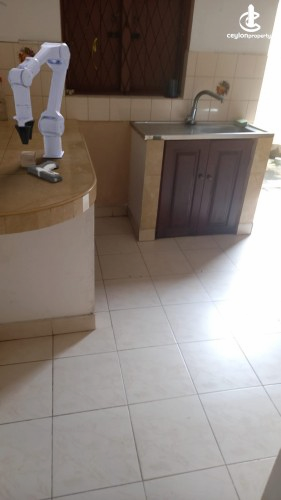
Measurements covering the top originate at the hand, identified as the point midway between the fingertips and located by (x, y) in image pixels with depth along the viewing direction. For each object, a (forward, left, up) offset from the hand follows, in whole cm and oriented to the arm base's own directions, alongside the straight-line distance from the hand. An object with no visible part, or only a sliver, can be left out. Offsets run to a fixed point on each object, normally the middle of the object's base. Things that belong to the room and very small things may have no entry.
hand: (27, 141), depth 137 cm
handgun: (+9, +10, -10) cm, 17 cm away
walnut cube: (0, 0, -10) cm, 10 cm away
